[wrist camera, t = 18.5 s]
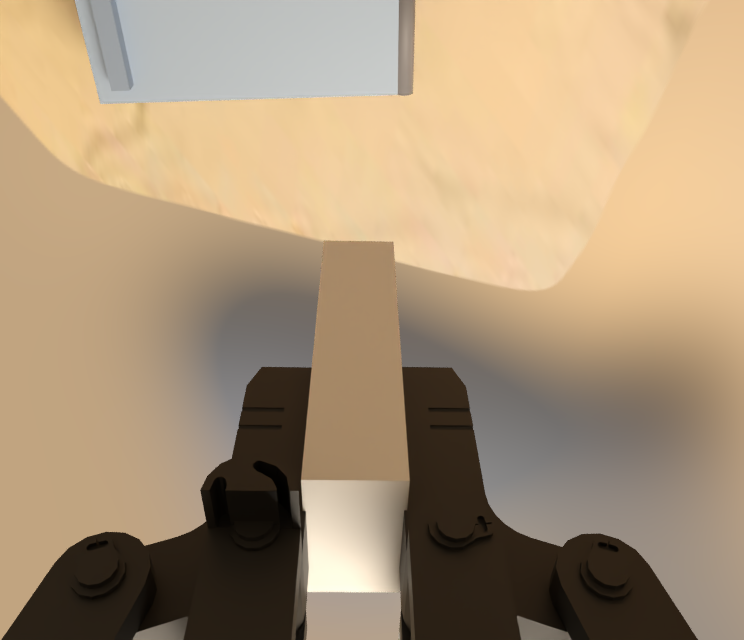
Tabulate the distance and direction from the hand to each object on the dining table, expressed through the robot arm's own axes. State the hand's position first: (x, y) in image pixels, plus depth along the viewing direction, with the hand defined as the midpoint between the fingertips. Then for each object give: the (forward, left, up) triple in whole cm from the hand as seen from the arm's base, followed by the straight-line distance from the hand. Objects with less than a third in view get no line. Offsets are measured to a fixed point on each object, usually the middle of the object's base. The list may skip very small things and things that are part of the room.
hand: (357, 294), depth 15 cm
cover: (0, -6, -27) cm, 28 cm away
